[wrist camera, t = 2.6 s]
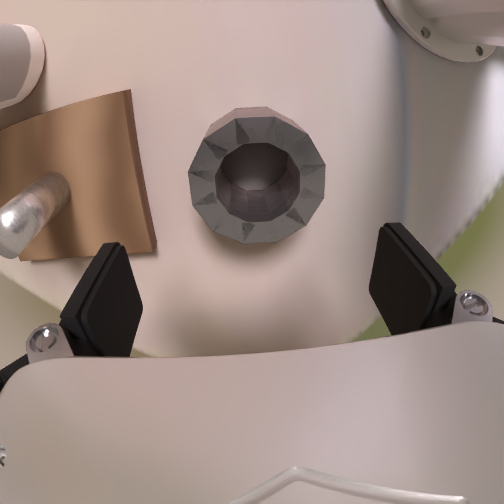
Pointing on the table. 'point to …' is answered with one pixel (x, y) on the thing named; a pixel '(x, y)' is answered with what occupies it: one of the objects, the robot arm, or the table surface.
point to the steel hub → (257, 201)
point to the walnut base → (82, 176)
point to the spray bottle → (19, 62)
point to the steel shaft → (31, 212)
